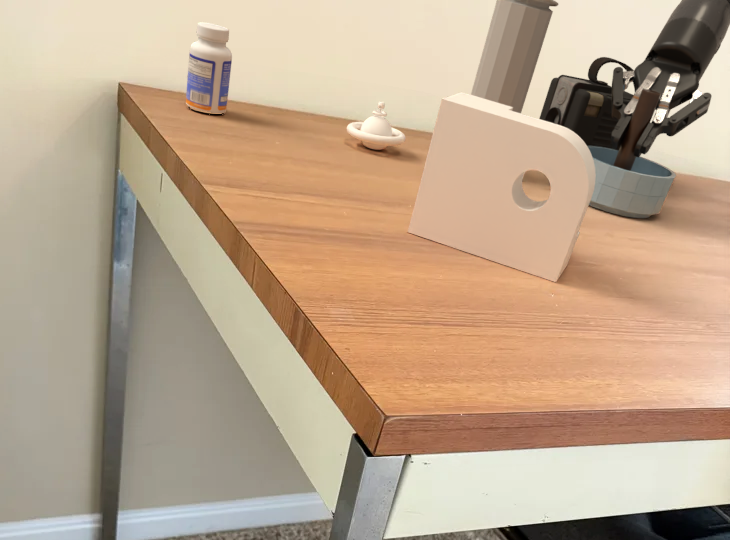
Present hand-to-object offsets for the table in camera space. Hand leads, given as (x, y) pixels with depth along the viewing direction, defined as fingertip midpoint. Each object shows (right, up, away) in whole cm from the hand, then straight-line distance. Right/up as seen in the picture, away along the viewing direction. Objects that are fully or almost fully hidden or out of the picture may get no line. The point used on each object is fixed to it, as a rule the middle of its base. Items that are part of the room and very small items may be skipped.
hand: (626, 148), depth 106 cm
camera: (-1, +7, +21) cm, 22 cm away
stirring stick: (0, -3, +5) cm, 6 cm away
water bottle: (-17, +2, +10) cm, 20 cm away
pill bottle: (-55, +7, +4) cm, 55 cm away
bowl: (+1, -4, +8) cm, 9 cm away
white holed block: (-21, -19, -18) cm, 34 cm away
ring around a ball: (-32, +3, +6) cm, 33 cm away
